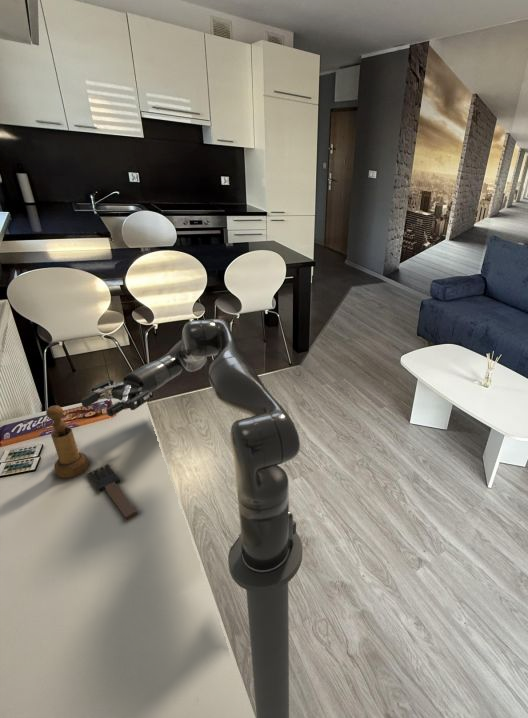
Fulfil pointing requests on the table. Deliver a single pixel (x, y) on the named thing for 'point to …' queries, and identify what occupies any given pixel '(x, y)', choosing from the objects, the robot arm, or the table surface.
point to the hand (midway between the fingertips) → (95, 408)
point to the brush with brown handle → (113, 490)
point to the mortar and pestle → (65, 447)
